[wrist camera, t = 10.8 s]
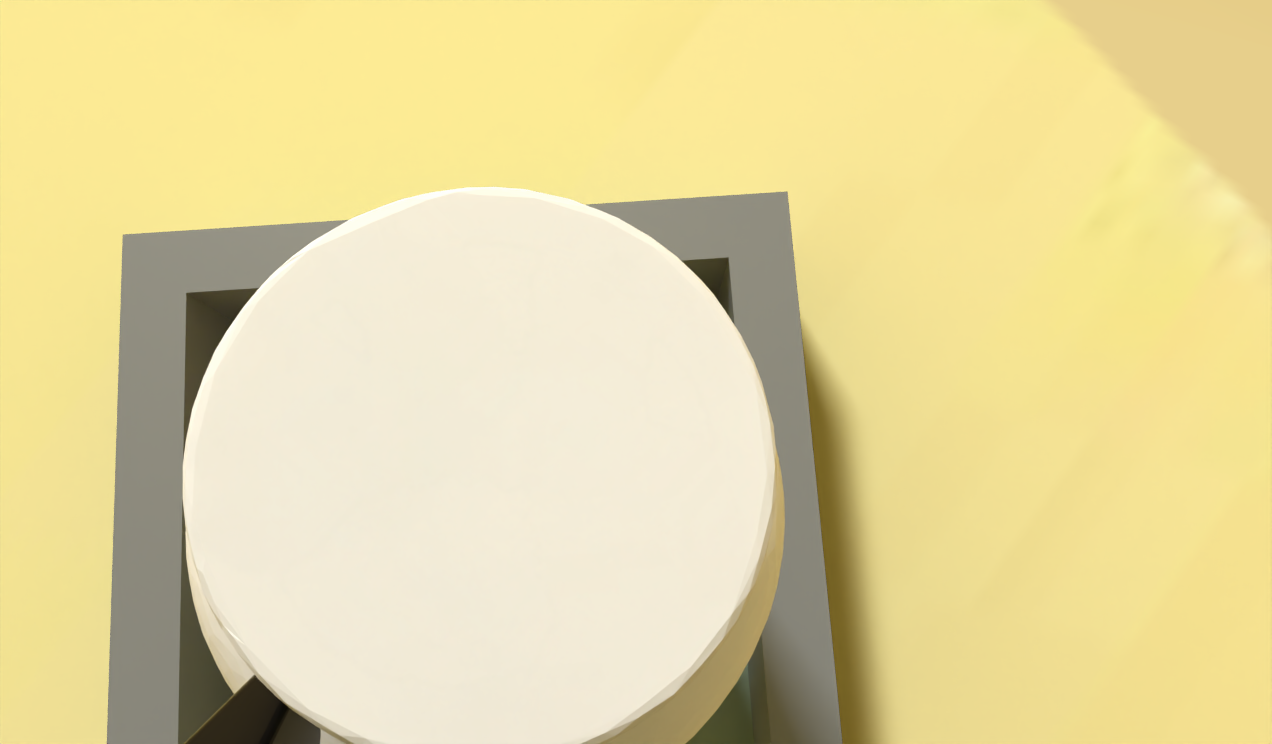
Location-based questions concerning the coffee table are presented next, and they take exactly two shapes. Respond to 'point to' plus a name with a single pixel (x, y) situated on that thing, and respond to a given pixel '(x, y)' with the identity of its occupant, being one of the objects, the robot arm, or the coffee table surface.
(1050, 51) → the coffee table surface
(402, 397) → the supplement bottle
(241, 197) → the coffee table surface
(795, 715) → the grey tray
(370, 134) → the coffee table surface
